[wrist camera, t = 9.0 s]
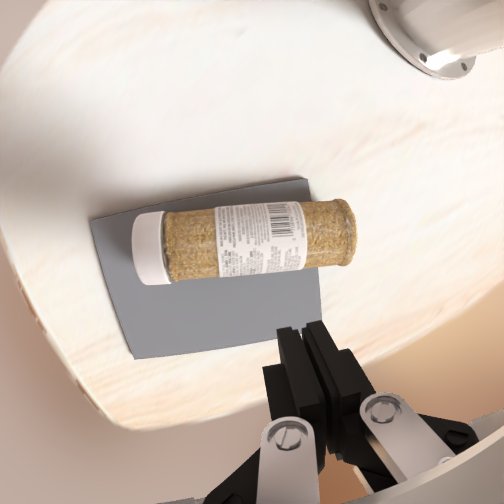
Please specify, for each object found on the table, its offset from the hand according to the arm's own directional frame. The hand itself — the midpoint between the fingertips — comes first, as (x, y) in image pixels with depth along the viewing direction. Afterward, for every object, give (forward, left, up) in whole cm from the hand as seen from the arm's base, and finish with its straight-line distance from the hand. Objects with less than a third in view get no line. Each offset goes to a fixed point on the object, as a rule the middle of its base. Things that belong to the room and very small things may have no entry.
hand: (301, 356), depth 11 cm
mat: (-2, -4, -12) cm, 13 cm away
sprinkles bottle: (+1, +6, -9) cm, 11 cm away
